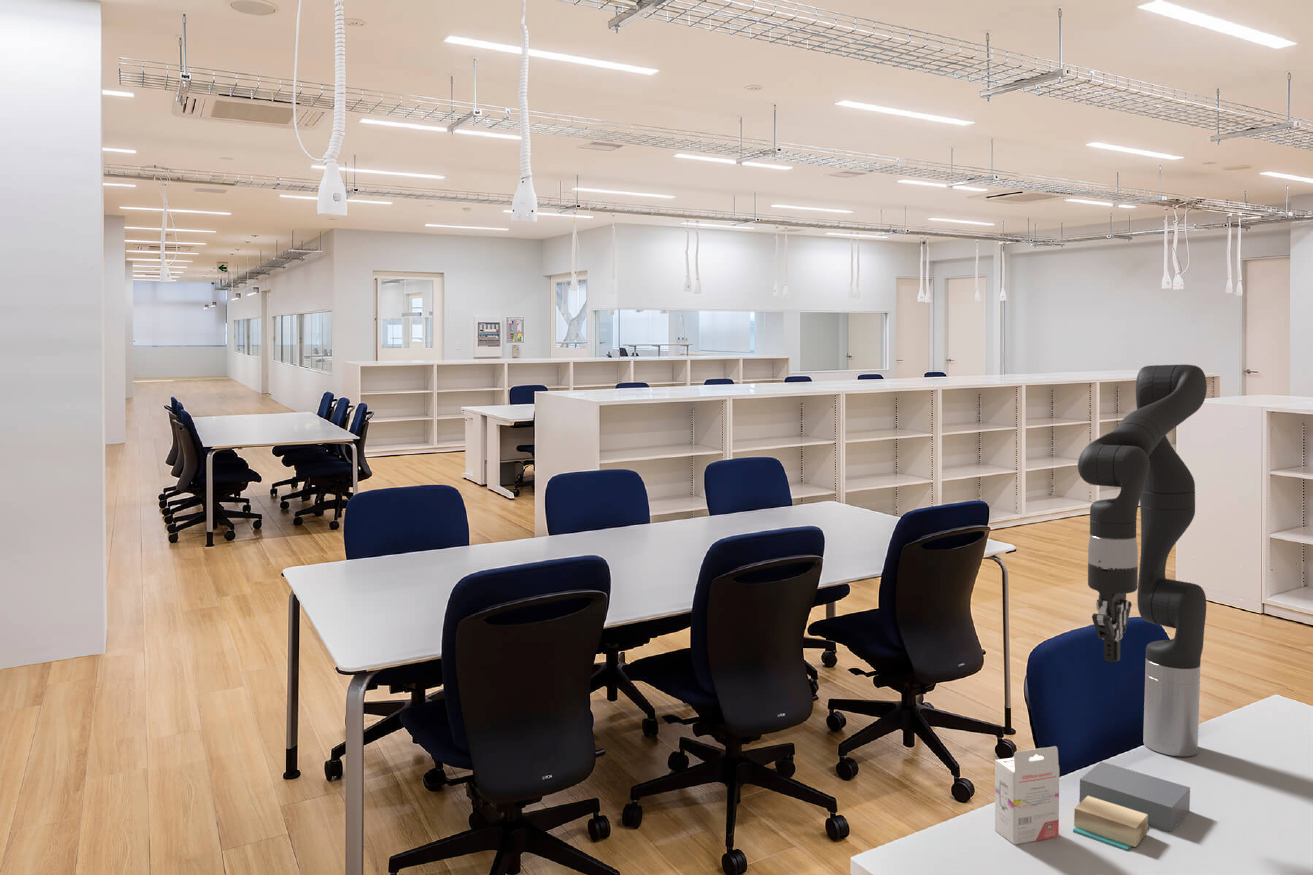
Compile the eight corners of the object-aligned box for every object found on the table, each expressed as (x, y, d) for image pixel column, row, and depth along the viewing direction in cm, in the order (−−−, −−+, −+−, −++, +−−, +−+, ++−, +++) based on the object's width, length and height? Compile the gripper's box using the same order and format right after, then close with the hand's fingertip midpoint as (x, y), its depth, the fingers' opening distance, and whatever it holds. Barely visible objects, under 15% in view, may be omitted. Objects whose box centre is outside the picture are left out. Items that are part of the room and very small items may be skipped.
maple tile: (1074, 808, 138) (1074, 826, 138) (1136, 828, 132) (1135, 846, 132) (1087, 795, 142) (1087, 812, 142) (1147, 814, 136) (1147, 832, 136)
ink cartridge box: (1037, 822, 140) (1039, 734, 139) (1059, 837, 135) (1061, 746, 135) (992, 829, 138) (994, 740, 137) (1013, 845, 133) (1015, 753, 132)
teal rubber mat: (1095, 809, 144) (1095, 808, 144) (1148, 827, 138) (1148, 825, 138) (1072, 831, 137) (1072, 829, 137) (1127, 850, 131) (1127, 848, 131)
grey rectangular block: (1100, 783, 154) (1101, 761, 154) (1189, 810, 144) (1190, 787, 144) (1079, 801, 147) (1079, 779, 147) (1171, 831, 137) (1171, 807, 137)
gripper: (1102, 552, 153) (1101, 646, 155) (1075, 565, 144) (1074, 666, 145) (1148, 557, 148) (1147, 655, 149) (1124, 571, 139) (1123, 676, 140)
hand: (1111, 660), depth 147 cm, fingers closed
